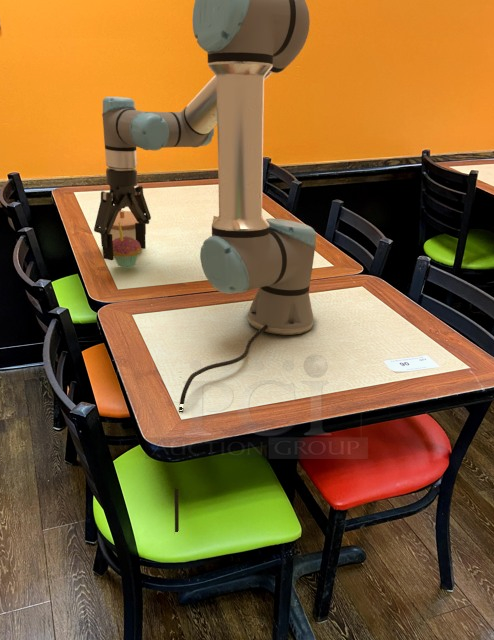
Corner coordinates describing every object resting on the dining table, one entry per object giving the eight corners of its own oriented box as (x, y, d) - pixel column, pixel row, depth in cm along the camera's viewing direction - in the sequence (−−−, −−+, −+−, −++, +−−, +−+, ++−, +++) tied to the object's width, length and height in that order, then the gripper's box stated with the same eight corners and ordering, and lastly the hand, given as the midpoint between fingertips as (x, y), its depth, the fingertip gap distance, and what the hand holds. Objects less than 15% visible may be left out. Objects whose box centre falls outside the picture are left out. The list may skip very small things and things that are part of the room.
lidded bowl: (152, 243, 168) (149, 205, 162) (140, 259, 158) (137, 220, 152) (110, 240, 169) (106, 202, 162) (96, 255, 159) (91, 216, 152)
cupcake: (135, 272, 149) (131, 227, 142) (104, 268, 150) (99, 223, 143) (147, 260, 156) (143, 216, 148) (117, 256, 157) (113, 212, 150)
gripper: (139, 161, 151) (142, 241, 162) (74, 171, 131) (81, 261, 142) (163, 165, 148) (164, 246, 159) (99, 176, 129) (105, 267, 140)
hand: (125, 253), depth 151 cm, fingers open, 13 cm apart
